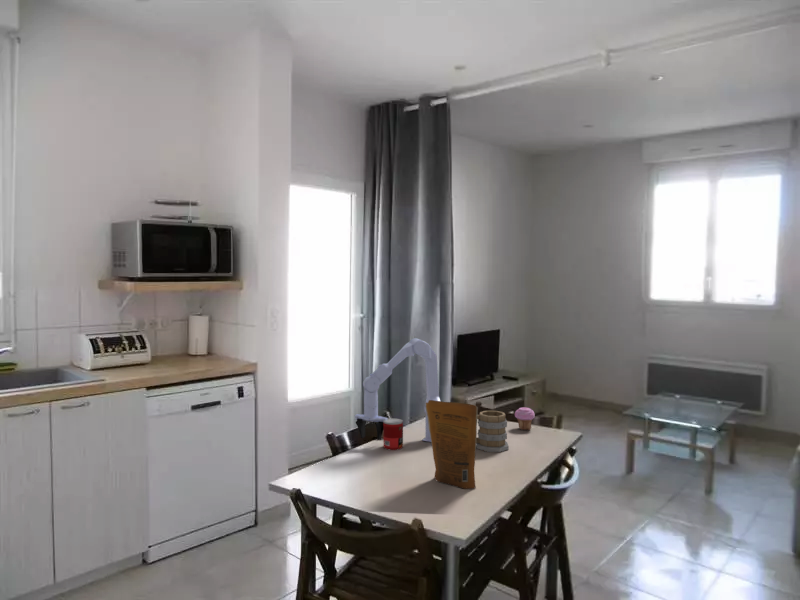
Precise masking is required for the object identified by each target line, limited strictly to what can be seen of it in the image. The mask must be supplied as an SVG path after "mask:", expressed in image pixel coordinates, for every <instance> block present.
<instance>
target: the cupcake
mask: <svg viewBox="0 0 800 600" xmlns="http://www.w3.org/2000/svg"><path fill="white" fill-rule="evenodd" d="M535 414H536V413H535V412H534V410H533V409H532V408H530V407H524V406H523V407H519V408H518V409H516V410H515V412H514V418H516V419H517V423H518V427H519V430H524V431H525V430H526V431H529V430H532V421H533V420H534V419H535V417H536V416H535Z"/></svg>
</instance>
